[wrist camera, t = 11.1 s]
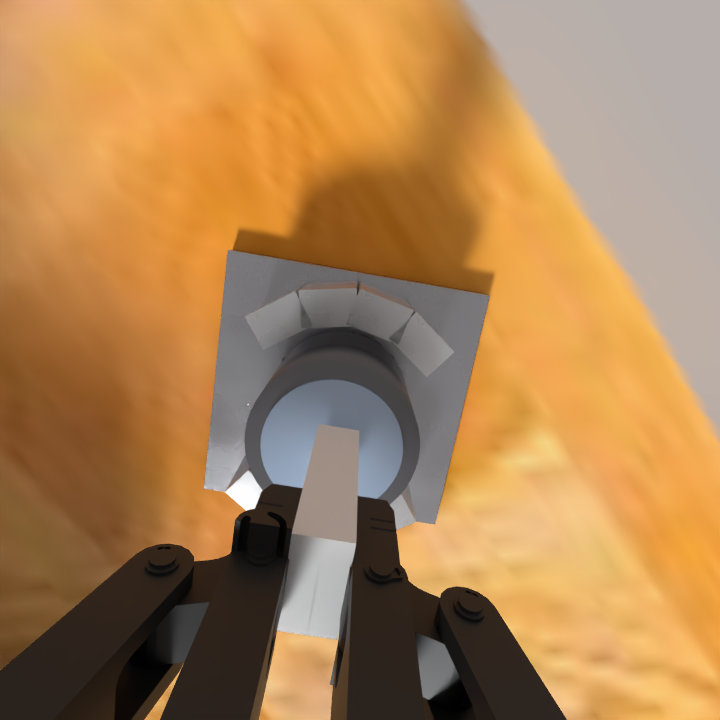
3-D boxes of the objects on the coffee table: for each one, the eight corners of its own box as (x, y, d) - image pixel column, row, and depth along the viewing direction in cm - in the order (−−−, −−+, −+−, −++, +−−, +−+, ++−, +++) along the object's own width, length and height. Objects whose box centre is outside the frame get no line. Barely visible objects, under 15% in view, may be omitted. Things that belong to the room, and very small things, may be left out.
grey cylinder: (265, 447, 25) (233, 513, 19) (281, 320, 23) (253, 348, 17) (392, 467, 25) (402, 539, 19) (418, 344, 24) (437, 379, 18)
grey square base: (432, 516, 27) (446, 570, 23) (208, 481, 27) (177, 529, 22) (485, 293, 24) (514, 305, 19) (232, 249, 23) (201, 251, 19)
